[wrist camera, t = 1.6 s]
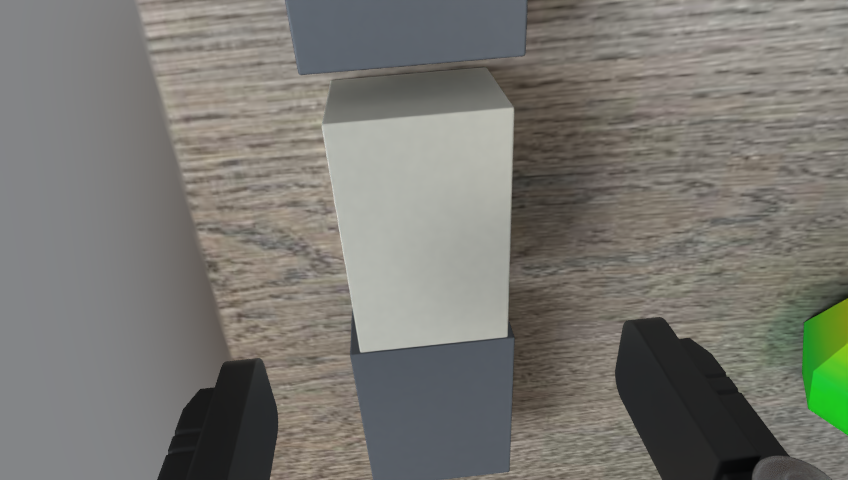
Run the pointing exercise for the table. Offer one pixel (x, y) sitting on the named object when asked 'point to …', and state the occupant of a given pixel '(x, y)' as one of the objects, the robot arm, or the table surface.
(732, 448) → the robot arm
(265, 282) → the table surface
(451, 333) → the cream rectangular block
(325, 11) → the pair of grey blocks
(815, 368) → the apple
